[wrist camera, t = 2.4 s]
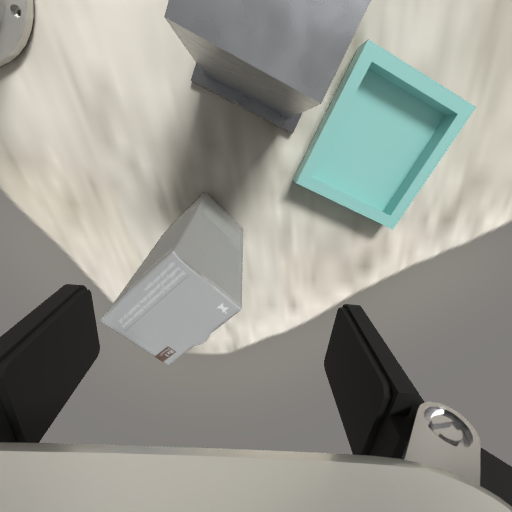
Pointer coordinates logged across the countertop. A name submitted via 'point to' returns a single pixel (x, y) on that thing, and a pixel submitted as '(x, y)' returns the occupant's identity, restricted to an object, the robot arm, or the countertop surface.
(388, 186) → the tray
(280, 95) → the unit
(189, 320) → the skincare box
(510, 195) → the countertop surface
